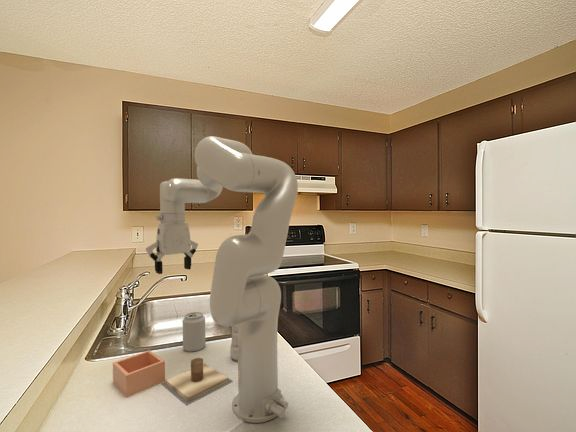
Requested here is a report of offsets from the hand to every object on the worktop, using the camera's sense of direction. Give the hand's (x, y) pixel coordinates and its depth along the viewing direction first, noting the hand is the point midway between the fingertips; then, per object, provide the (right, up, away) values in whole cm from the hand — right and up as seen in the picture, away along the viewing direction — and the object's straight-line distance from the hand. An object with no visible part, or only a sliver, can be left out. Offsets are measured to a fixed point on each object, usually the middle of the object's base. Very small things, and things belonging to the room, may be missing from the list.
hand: (173, 271), depth 99 cm
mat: (+13, -28, -16) cm, 35 cm away
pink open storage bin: (-4, -28, -16) cm, 32 cm away
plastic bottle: (+22, -28, -2) cm, 36 cm away
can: (+5, -28, +6) cm, 29 cm away
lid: (+13, -28, -16) cm, 34 cm away
